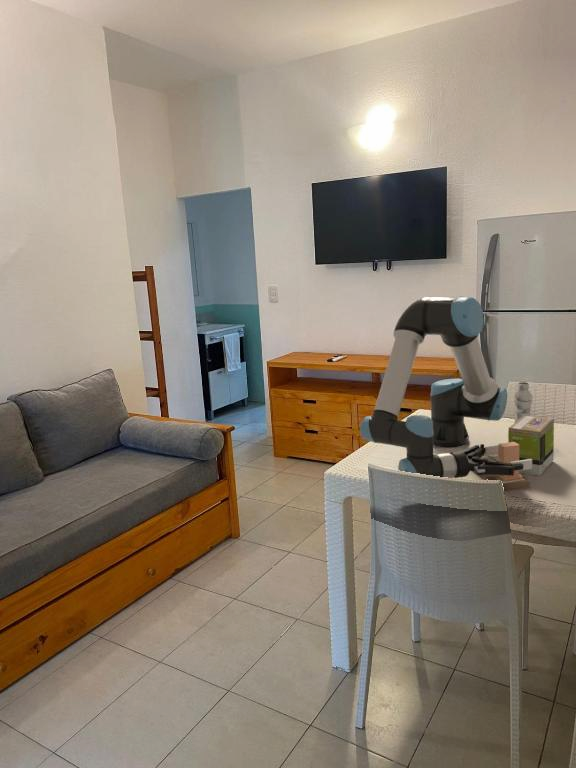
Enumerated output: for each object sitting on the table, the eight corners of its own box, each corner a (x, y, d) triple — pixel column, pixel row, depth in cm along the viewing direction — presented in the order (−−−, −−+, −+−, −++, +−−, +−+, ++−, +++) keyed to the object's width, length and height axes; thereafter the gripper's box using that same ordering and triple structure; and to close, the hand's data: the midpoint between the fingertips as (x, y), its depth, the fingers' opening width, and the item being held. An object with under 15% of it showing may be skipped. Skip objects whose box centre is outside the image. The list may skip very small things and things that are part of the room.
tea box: (522, 456, 195) (523, 414, 191) (554, 461, 188) (555, 418, 185) (507, 470, 183) (507, 426, 180) (540, 477, 177) (541, 431, 174)
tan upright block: (494, 474, 175) (495, 443, 172) (512, 471, 176) (513, 440, 173) (503, 480, 170) (504, 448, 168) (522, 477, 171) (523, 445, 169)
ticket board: (462, 463, 192) (462, 456, 191) (487, 460, 193) (487, 453, 193) (501, 491, 169) (501, 483, 168) (529, 487, 170) (529, 479, 170)
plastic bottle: (535, 435, 214) (537, 383, 210) (524, 439, 210) (526, 386, 206) (520, 431, 219) (521, 380, 215) (509, 435, 216) (510, 383, 211)
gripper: (433, 462, 181) (495, 454, 185) (472, 493, 157) (543, 483, 161) (432, 440, 179) (495, 432, 183) (473, 468, 155) (543, 457, 159)
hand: (517, 456), depth 172 cm, fingers open, 13 cm apart
